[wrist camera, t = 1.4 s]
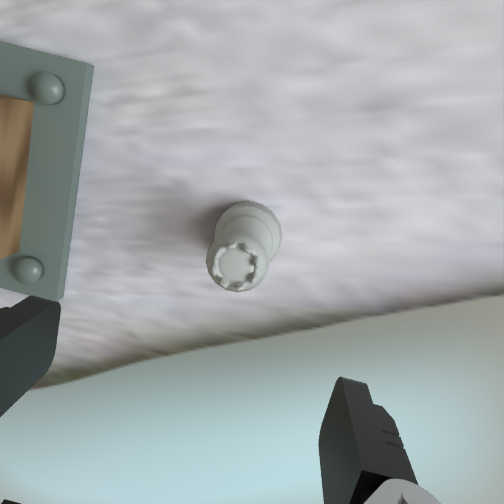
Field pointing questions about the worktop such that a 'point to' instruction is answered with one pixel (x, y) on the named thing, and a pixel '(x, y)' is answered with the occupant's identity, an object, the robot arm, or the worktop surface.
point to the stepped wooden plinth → (13, 168)
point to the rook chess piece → (243, 246)
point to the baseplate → (46, 165)
